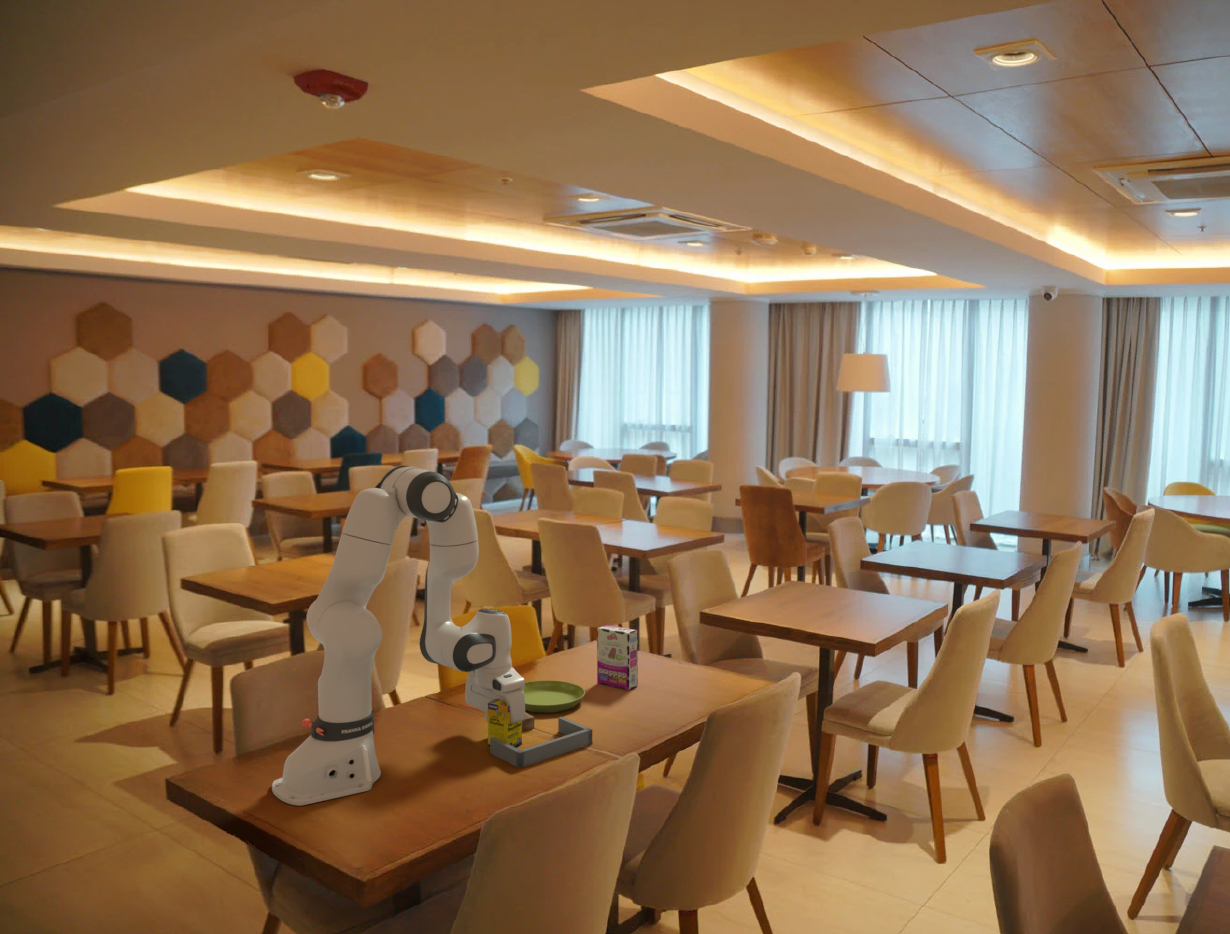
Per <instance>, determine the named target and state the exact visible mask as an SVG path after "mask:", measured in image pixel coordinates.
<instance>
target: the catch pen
mask: <svg viewBox="0 0 1230 934" xmlns="http://www.w3.org/2000/svg"><path fill="white" fill-rule="evenodd" d="M557 719H558V726H557V728H558V732H559V733H561V734H563V735H562V736H561V737H558V738H554V739H551V740H548V741H544V742H541V743H539V744H535V745H532V746H529V747H526V748H523V749H520V748H519V749H518V748H517V747H513V746H511V745H509V744H507V743H505V742H503V741H501V740H499V739H497V738H495V737H494V738H491V739H490V747H489V749H490V751H489V753H490V754H491V755H493V756H495V757H497V758H499V759H501V760H503V761H504V762H506V763H508V764H511V765H512V766H514V767H516V768H519V769H522V768H524V767H527V766H531V765H533V764H536V763H539V762H542V761H546V760H548V759H551V758H554V757H556V756H560V755H563V754H566V753H569V752H571V751H575V750H577V749H581V748H583V747H586V746H589V745H592V744H593V729H592V728H590V727H587V726H585V725H582V724H580V723H578V722H576V721H574V720H571V719H568V718H566V717H563V716H560V717H558V718H557Z"/></svg>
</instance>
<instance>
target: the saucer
mask: <svg viewBox="0 0 1230 934" xmlns="http://www.w3.org/2000/svg"><path fill="white" fill-rule="evenodd" d="M522 690H523V691H524V695H525V712H526V711H527V712H531V713H538V714H539V713H540V714H548V713H551V714H552V713H559V712H560V713H561V712H564V711H565V712H566V711H568V710H570V709H573V708H575V706H577V705H578V704H579V702H581V700H582V699H583V698H584V696H585V694H586V691H585V689H584V688H583V687H582V686H580V685H578V684H577V683H576V684H575V683H573V682H568V681H562V680H543V679H542V680H534V681H527V682H525V686H524V687H523V688H522Z"/></svg>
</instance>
